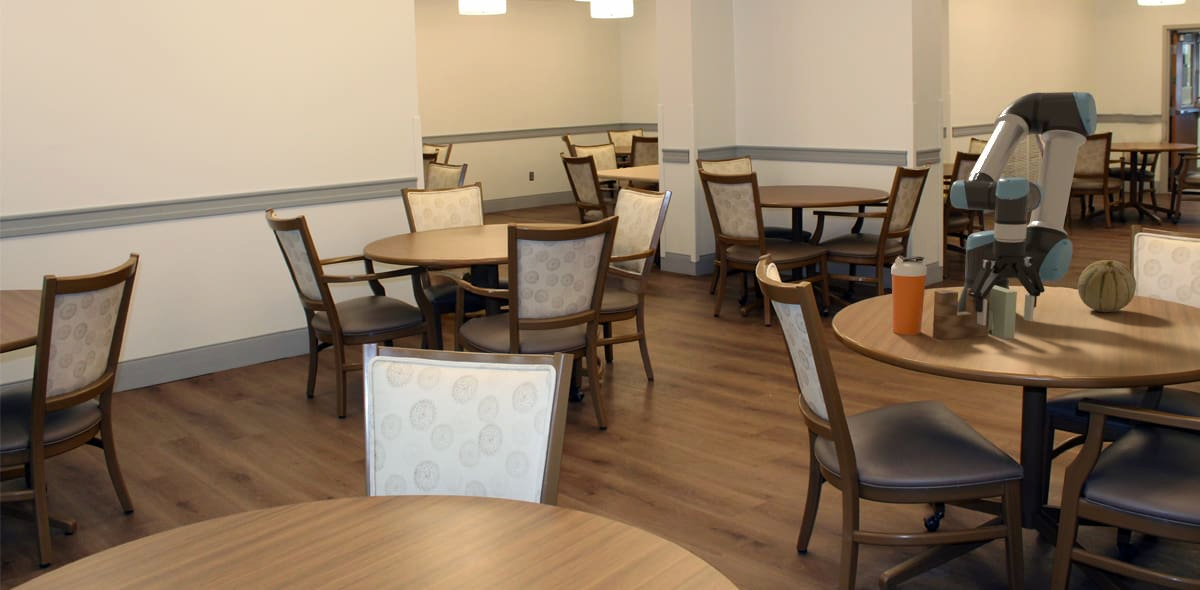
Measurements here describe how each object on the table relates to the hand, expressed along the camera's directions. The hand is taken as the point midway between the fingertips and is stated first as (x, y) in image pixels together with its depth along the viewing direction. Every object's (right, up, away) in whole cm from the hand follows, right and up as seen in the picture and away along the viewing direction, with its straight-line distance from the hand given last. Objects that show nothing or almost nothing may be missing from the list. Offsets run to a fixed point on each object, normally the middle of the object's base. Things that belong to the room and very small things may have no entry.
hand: (1005, 322), depth 257 cm
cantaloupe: (+38, +2, +26) cm, 46 cm away
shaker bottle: (-23, -3, +8) cm, 24 cm away
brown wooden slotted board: (-11, -4, +2) cm, 11 cm away
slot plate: (-1, -3, +6) cm, 6 cm away
